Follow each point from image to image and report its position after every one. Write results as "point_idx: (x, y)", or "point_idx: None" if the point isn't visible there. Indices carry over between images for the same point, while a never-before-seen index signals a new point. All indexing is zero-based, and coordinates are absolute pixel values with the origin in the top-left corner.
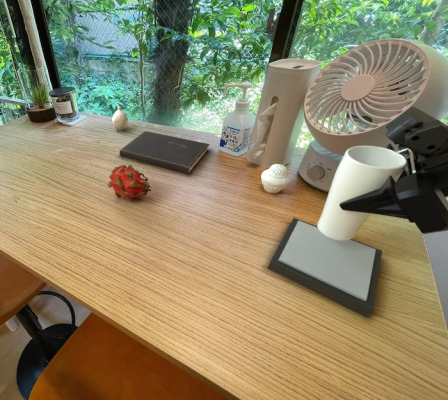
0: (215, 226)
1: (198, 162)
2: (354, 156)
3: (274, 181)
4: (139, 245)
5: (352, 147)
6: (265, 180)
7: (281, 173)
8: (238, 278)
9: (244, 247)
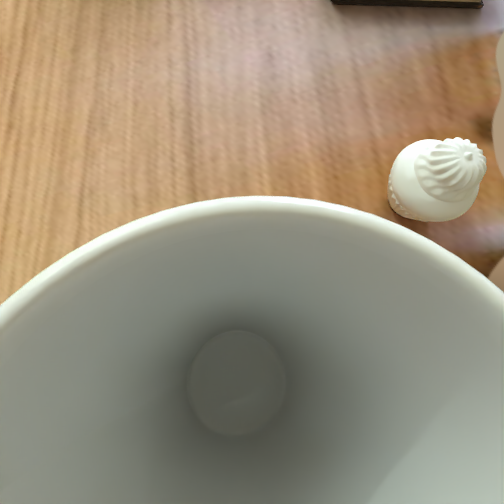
0: (169, 123)
1: (403, 4)
2: (417, 332)
3: (401, 177)
4: (15, 8)
5: (430, 249)
6: (397, 157)
7: (439, 176)
8: (24, 216)
9: (132, 200)
